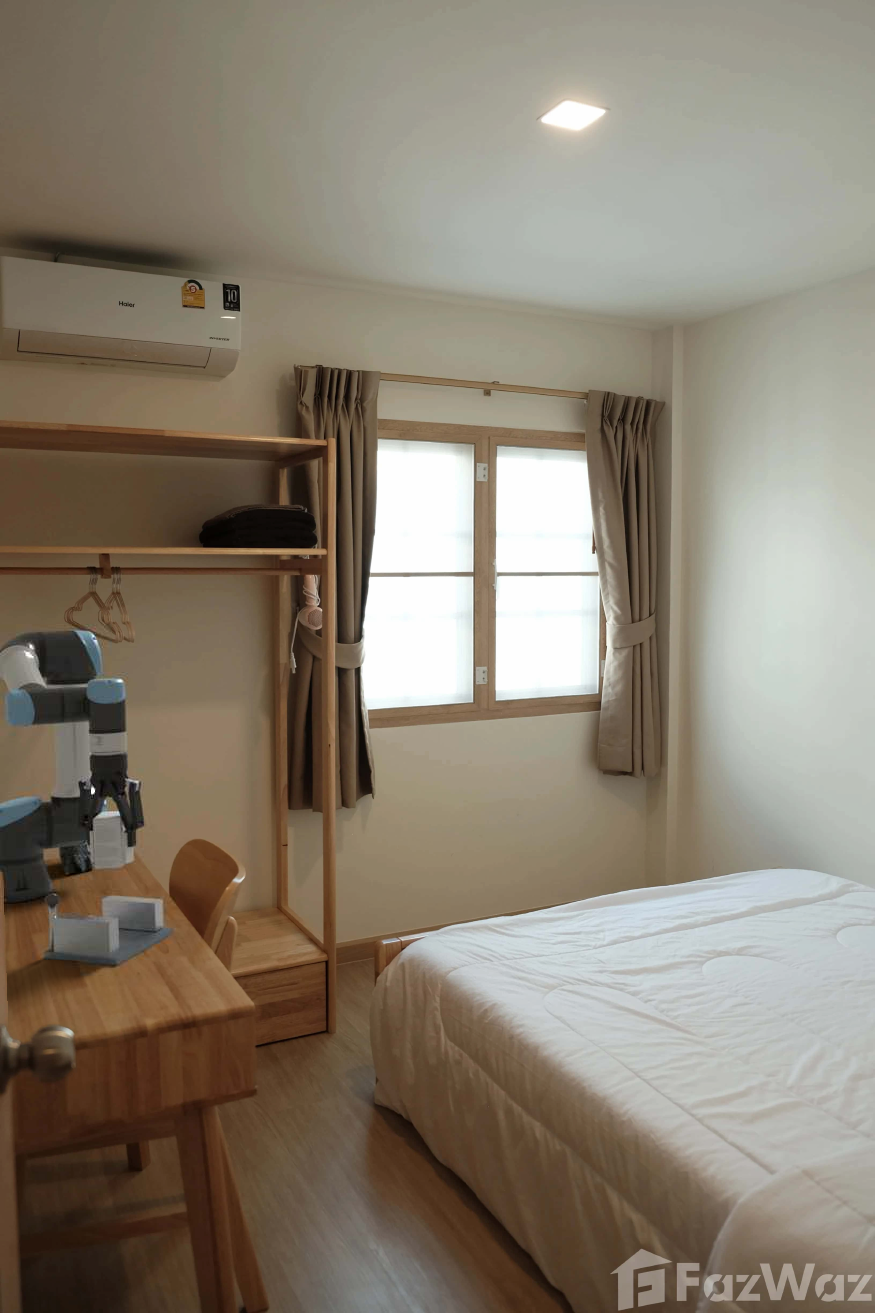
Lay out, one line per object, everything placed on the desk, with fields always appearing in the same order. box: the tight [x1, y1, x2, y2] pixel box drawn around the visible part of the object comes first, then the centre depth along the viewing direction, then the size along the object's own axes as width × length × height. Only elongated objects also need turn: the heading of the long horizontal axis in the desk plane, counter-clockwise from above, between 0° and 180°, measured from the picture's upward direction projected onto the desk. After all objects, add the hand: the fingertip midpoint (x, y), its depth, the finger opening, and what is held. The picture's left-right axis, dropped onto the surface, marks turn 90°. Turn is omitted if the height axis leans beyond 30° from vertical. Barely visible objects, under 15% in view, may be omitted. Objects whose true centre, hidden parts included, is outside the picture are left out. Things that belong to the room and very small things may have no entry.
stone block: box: [58, 844, 95, 875], centre depth 271 cm, size 18×9×20 cm, turn 18°
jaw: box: [101, 894, 164, 931], centre depth 213 cm, size 3×13×6 cm, turn 73°
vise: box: [43, 892, 174, 966], centre depth 205 cm, size 20×18×13 cm
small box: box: [93, 810, 125, 870], centre depth 208 cm, size 8×6×10 cm
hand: (112, 861), depth 208 cm, fingers closed on small box, 7 cm apart
